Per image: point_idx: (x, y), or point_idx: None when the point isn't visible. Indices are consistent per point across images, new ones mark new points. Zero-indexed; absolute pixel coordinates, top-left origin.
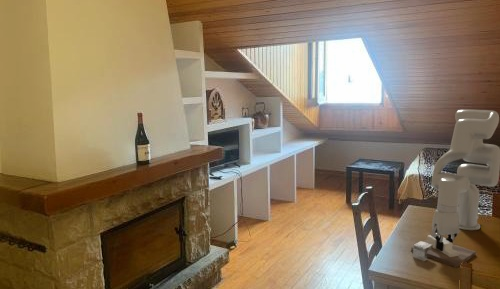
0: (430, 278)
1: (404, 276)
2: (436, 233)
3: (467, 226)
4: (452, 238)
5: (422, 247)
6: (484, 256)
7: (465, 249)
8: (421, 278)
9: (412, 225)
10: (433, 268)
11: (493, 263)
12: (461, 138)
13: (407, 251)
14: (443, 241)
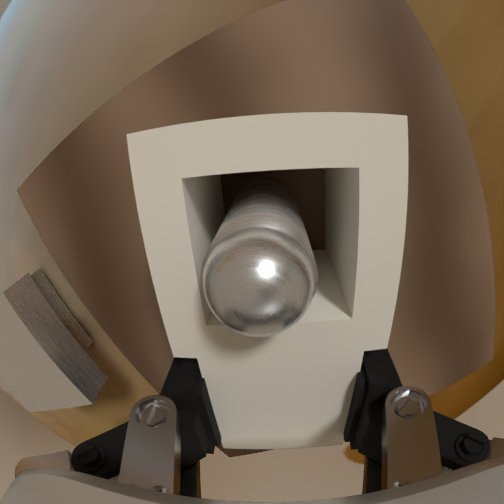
0: (77, 433)
1: (4, 387)
2: (256, 307)
3: None
4: (369, 470)
5: (14, 391)
6: (500, 353)
7: (477, 325)
8: (49, 419)
9: None
10: (106, 404)
11: (457, 413)
12: None
13: (19, 182)
14: (266, 407)
